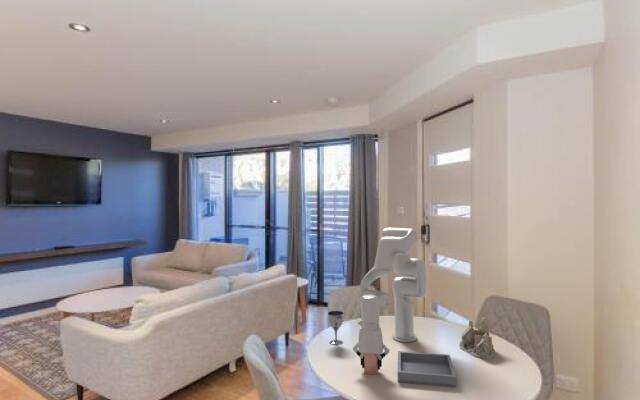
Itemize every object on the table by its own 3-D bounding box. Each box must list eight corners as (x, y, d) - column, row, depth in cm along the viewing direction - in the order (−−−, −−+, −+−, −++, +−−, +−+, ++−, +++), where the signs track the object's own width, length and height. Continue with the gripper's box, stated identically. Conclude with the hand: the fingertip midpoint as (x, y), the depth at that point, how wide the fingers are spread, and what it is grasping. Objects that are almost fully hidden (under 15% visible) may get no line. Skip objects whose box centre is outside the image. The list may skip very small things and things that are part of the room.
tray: (398, 360, 164) (398, 351, 164) (449, 363, 159) (449, 354, 159) (397, 382, 144) (397, 372, 144) (456, 387, 139) (456, 376, 139)
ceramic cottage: (462, 341, 183) (462, 312, 182) (498, 349, 174) (498, 319, 173) (453, 354, 170) (454, 323, 169) (492, 364, 161) (492, 331, 160)
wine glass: (342, 346, 180) (342, 315, 180) (327, 345, 182) (326, 315, 182) (344, 339, 188) (344, 310, 188) (329, 339, 190) (329, 310, 190)
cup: (364, 367, 157) (364, 346, 157) (378, 368, 156) (378, 347, 155) (363, 374, 151) (363, 352, 151) (378, 375, 150) (377, 353, 150)
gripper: (348, 326, 151) (349, 370, 151) (391, 329, 148) (391, 373, 148) (351, 320, 159) (352, 362, 159) (391, 323, 155) (392, 365, 155)
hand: (371, 367), depth 153 cm, fingers closed on cup, 6 cm apart
